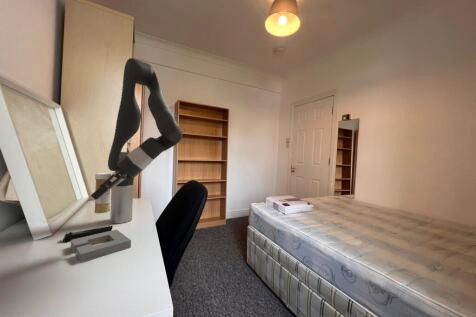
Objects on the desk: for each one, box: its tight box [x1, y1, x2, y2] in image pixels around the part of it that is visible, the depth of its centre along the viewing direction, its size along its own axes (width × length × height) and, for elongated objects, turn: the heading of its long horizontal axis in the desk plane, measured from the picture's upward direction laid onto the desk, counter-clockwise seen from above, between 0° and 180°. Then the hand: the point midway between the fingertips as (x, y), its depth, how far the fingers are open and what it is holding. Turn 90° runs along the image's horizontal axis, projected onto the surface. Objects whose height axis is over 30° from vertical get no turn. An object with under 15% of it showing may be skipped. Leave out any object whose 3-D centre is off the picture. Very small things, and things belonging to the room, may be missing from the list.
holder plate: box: [70, 229, 132, 263], centre depth 68 cm, size 14×14×2 cm
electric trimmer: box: [62, 225, 114, 243], centre depth 77 cm, size 4×16×3 cm, turn 131°
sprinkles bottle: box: [93, 172, 112, 214], centre depth 68 cm, size 5×5×13 cm
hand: (96, 196), depth 67 cm, fingers closed on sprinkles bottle, 4 cm apart
